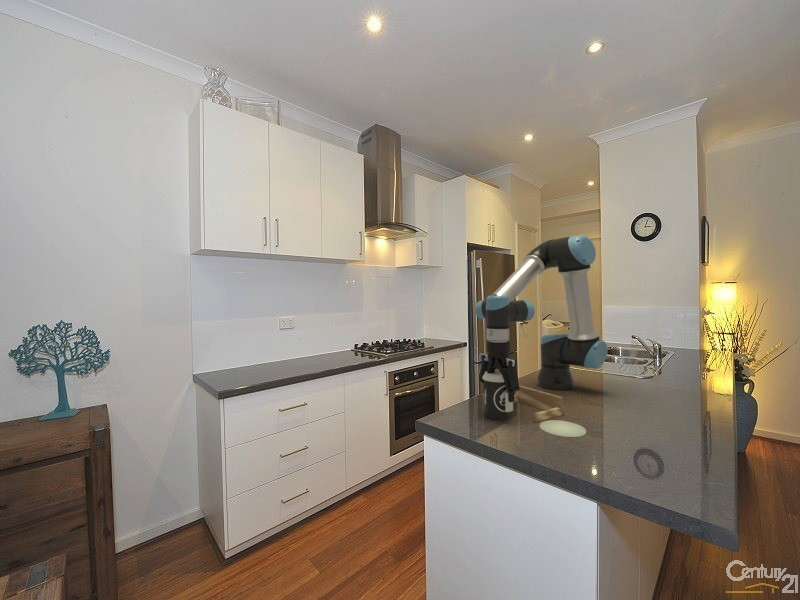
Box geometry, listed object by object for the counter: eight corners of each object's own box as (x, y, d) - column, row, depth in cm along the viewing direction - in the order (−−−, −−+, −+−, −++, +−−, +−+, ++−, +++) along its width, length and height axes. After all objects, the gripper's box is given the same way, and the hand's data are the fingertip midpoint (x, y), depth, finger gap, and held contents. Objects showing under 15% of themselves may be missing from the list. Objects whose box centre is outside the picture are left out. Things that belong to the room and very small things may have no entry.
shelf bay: (518, 400, 136) (518, 385, 136) (563, 414, 119) (563, 397, 119) (493, 406, 129) (493, 390, 129) (536, 422, 112) (536, 403, 112)
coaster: (557, 418, 115) (557, 417, 115) (595, 431, 104) (595, 430, 104) (530, 426, 109) (530, 425, 109) (568, 440, 98) (568, 439, 98)
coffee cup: (508, 412, 122) (508, 369, 122) (514, 421, 113) (514, 376, 113) (481, 411, 123) (480, 369, 123) (484, 421, 114) (484, 375, 114)
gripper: (468, 338, 125) (468, 400, 125) (514, 345, 106) (515, 418, 106) (483, 336, 128) (484, 397, 129) (531, 343, 110) (532, 414, 110)
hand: (498, 407), depth 117 cm, fingers open, 9 cm apart
